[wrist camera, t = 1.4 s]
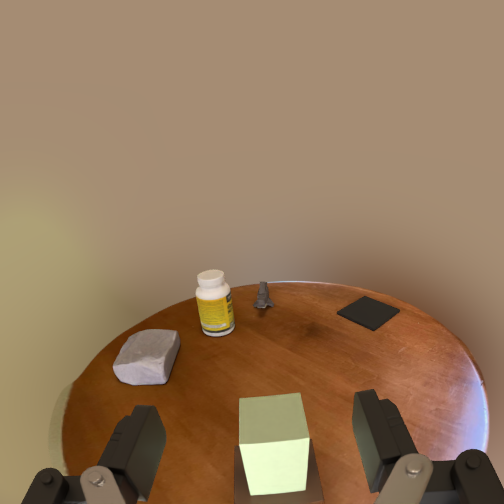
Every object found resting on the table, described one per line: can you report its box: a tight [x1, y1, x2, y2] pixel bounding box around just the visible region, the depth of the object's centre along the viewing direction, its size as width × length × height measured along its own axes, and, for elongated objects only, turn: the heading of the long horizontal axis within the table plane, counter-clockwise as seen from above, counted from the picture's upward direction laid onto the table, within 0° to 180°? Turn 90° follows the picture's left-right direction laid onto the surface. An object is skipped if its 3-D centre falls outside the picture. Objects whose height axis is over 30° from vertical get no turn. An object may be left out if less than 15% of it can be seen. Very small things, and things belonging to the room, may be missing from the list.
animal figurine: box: [253, 282, 274, 308], centre depth 65 cm, size 12×4×5 cm, turn 173°
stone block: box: [113, 329, 180, 385], centre depth 49 cm, size 12×5×10 cm
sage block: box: [239, 393, 310, 495], centre depth 23 cm, size 5×5×9 cm
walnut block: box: [234, 439, 324, 504], centre depth 25 cm, size 8×8×4 cm
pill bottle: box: [196, 270, 235, 336], centre depth 57 cm, size 6×6×11 cm
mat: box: [337, 296, 400, 331], centre depth 58 cm, size 9×9×1 cm
